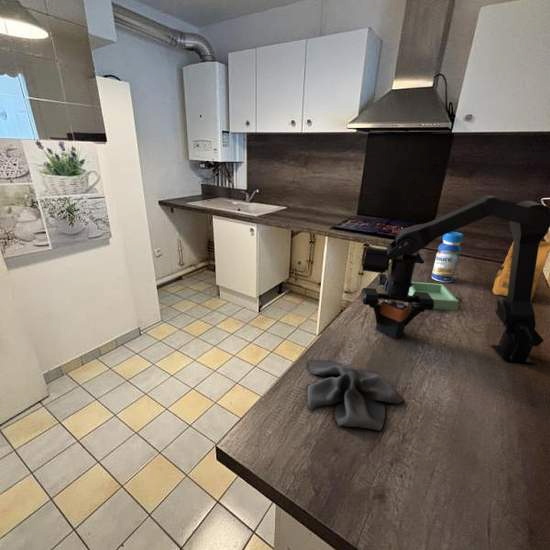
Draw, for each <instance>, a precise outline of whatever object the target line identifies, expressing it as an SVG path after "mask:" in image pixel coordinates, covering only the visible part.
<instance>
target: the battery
mask: <svg viewBox="0 0 550 550" xmlns="http://www.w3.org/2000/svg"><path fill="white" fill-rule="evenodd" d="M379 304H380V306H381V309H380V317H379V322H378V324H377V323H376V325H375V329H376V330H378V331H379V332H382V333H383V334H386V335H388V336H390V337H392V338H394V339H398V338H400V337H401V336H402V335H404V332H405V329H406V328H405V327H406V326H405V323H406V319H407V315H408V310H409V307H408V305H406V304H405V302H397V301H385V300H382V301H381V302H379Z"/></svg>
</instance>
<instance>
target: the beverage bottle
mask: <svg viewBox="0 0 550 550" xmlns="http://www.w3.org/2000/svg"><path fill="white" fill-rule="evenodd" d="M463 238H464V234H463V233H461V232H458V231H452V232H449V233H447V234H445V235H442V243H440V244H439V246H438V247H437V250H438V251H437V252H436V254H435V260H434V264H433V268H432V272H431V279H432V280H435V281H437V282H439V283H452V282H453V281H454V278H455V274H456V271H457V267H458V264H459V261H460V260H461V259H460V258H461V255H460V254H461V253H462V247H461V243H462V241H463Z"/></svg>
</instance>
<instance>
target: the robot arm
mask: <svg viewBox="0 0 550 550" xmlns="http://www.w3.org/2000/svg"><path fill="white" fill-rule="evenodd" d="M489 216H492V217H495V218H499V219H502V220H506V221H509V229H510V232H511V236H512V238H513V239H512V240H513V241H514V245H513V253H512V262H511V270H510V279H509V287H508V294H507V296H504V299H496V306H497V307H496V310H495V311H494V312H495V314H496V315H497V317H498V318H499V320H500V322H501V323H502V325H503V327H504V328H505V329H504V332H503V333H502V336H501V338H500V340H499V343H498V344H492V348H493V349H494V350H495V352H496V353H497V354H498V355H499V356H500V357H501V359H502V360H503V361H504V362H509V363H510V362H511V363H520V364H530V365H531V364H533V363H534V361H533V360H532V359H531V358H530V357H529V356H530V354H531V352H532V349H533V347H539V346H540V345H541V344H542V343H543V342H544V339H543V337H542V336H541V335H540V334H539V333H538V332H537V331H536V327H537V321H536V313H535V309H534V306H533V303H532V299H531V296H532V289H533V283H534V276H535V269H536V262H537V256H538V249H539V244H540V242H541V241H542V242H543V239H544V238H545V237H546V236H547V234H548V233H549V230H550V207H549V206H548V205H544V204H541V203H538V202H536V201H532V200H523V201H519V202H515V201H511V200H508V199H504V198H503V199H502V198H498V197H495V196H493V195H484V196H482V197H480V198H479V199H477V200H475V201H473V202H471V203H468V204H467V205H464V206H462V207H460V208H457V209H456V210H453V211H450V212H449V213H446V214H444V215H442V216H440V217H438V218H436V219H434V220H432V221H429V222H425V223H420V224H414V225H411V226H408V227H407V226H406V227H404V228H402V229H400V230H398V232H397V233H396V236H395V239H394V240H393V241H392V242H390V243H389V244H388V245H387V246H386V248H378V247H373V246H366V248H365V254H364V257H363V261H362V272H370V273H377V278H376V285H378V286H382V289H383V291H384V292H385V293H382V292H378V291H377V288H375V287H374V288H371V287H363V288H362V289H361V290H360V298H361V302H362V305H366V306H369V308H372V309H373V314H374V319H375V323H376V324H378V322H379V317H380V309H381V306H380V301H395V302H402V303H407V306H408V307H409V310H408V315H407V319H406V323H405V327H407V325H409V324H410V322H412V320H413V319H414V318H416V317H417V316H418V315H420V314H421V313H424V312H426V311H433V310H434V309H433V308H434V304H435V303H434V300H433V299H432V298H431V296H430V295H429V294H428V293H427V292H414V293H413V295H412V296H409V295H408V294H409V289H410V287H412V283H411V282H412V279H413V275H414V270H415V266H416V264H425V259H424V258H423V256H422V255H421V254H420V252H419V251H421V250H423V249H424V248H426V247H427V246H429V245H430V243H432V242H433V241H435V240H436V239H438V238H439V237H443V235H445V234H447V233H449V232H455V231H456V230H459V229H461V228H463V227H465V226H467V225H468V226H469V225H470V224H473V223H476V222H478V221H479V220H482V219H485V218H487V217H489ZM390 261H391V265H390ZM389 267H390V268H389ZM389 269H390V270H389ZM386 271H389V274H388V275H387V277H386V274H384V273H386Z"/></svg>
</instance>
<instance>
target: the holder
mask: <svg viewBox="0 0 550 550" xmlns="http://www.w3.org/2000/svg"><path fill="white" fill-rule="evenodd" d="M411 283H412V287H410V289H409V294H408V295H409V296H412V295H413V293H414V292H427V293H428V294H429V295H430V296H431V298H432V299H433V300H434V303H435V304H434V308H433V310H442V311H443V310H445V311H457V308H458V306H459V302H460V301H459V300H458V299H457V298H456V296H454V294H453V293H452V292H451V291H450V290H449V289H448V288H447V287H446V286H445V285H444V284H443V283H433V282H420V281H419V282H418V281H411Z"/></svg>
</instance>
